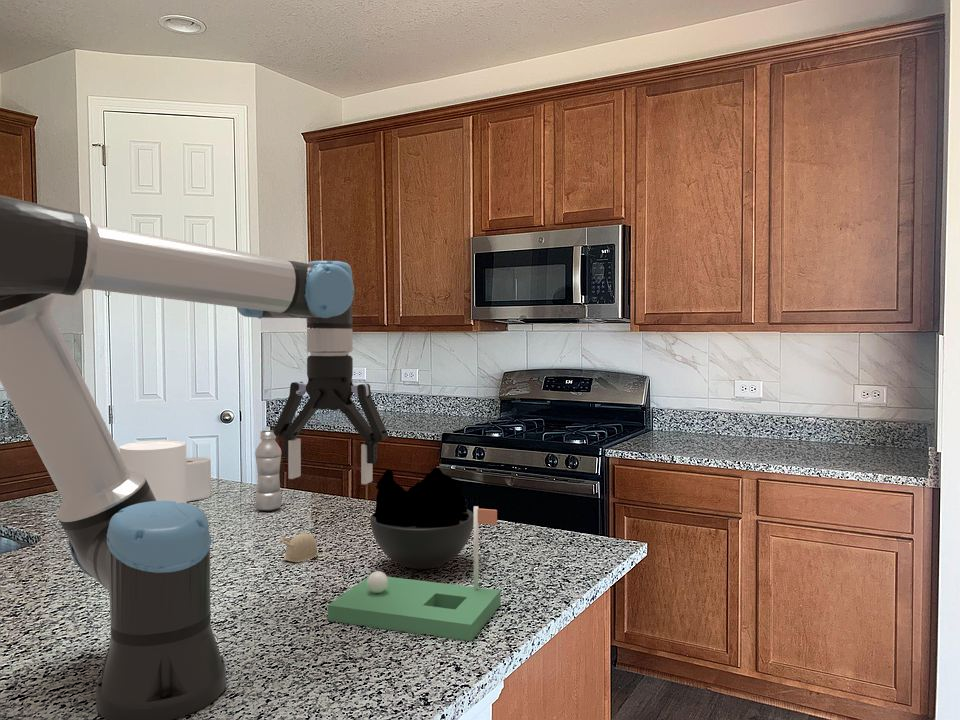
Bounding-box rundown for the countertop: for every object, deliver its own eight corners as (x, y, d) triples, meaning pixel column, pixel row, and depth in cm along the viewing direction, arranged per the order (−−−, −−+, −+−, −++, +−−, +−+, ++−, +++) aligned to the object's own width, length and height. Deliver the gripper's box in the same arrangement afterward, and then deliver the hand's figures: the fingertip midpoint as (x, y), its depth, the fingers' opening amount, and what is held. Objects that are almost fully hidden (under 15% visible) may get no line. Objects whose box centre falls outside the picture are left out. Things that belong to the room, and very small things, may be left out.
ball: (382, 597, 120) (382, 576, 120) (363, 594, 121) (363, 573, 121) (391, 590, 123) (391, 569, 123) (372, 587, 124) (372, 567, 124)
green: (471, 641, 109) (471, 531, 108) (327, 620, 117) (326, 517, 116) (500, 604, 123) (500, 507, 122) (371, 588, 131) (370, 496, 130)
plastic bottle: (250, 512, 184) (248, 432, 183) (265, 505, 191) (264, 429, 190) (272, 514, 182) (271, 433, 181) (287, 507, 189) (286, 430, 188)
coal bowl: (493, 560, 146) (493, 466, 145) (436, 592, 129) (436, 485, 128) (411, 545, 157) (410, 457, 156) (348, 572, 139) (348, 474, 138)
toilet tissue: (203, 490, 208) (202, 455, 208) (218, 498, 199) (218, 461, 198) (164, 496, 201) (163, 460, 201) (178, 504, 192) (177, 466, 192)
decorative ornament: (323, 558, 148) (322, 532, 148) (283, 567, 143) (283, 539, 142) (313, 553, 151) (313, 527, 151) (275, 561, 146) (274, 535, 146)
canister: (187, 538, 162) (185, 447, 161) (119, 545, 157) (116, 451, 156) (187, 522, 174) (185, 438, 173) (124, 528, 169) (122, 442, 168)
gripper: (407, 354, 123) (407, 480, 124) (277, 352, 131) (277, 471, 132) (389, 356, 116) (389, 489, 117) (252, 353, 124) (253, 479, 124)
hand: (330, 480), depth 124 cm, fingers open, 13 cm apart
